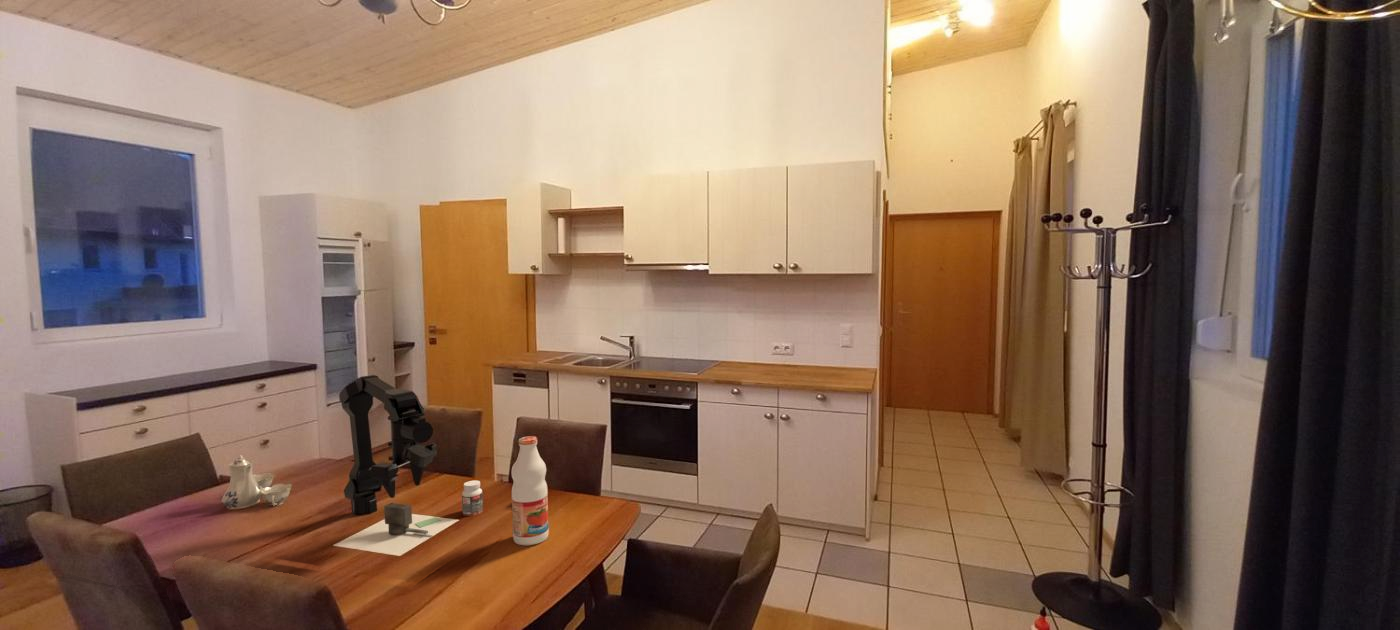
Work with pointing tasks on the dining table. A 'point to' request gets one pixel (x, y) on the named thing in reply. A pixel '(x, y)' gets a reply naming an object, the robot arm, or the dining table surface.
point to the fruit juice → (529, 495)
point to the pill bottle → (472, 498)
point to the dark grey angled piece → (399, 519)
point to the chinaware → (251, 487)
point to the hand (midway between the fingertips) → (405, 491)
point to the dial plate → (396, 536)
